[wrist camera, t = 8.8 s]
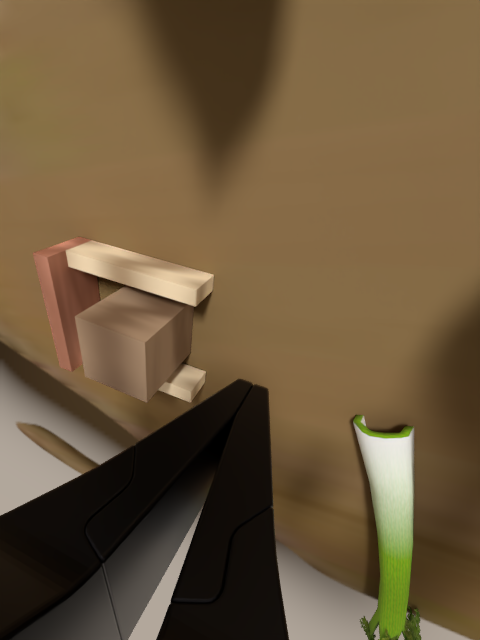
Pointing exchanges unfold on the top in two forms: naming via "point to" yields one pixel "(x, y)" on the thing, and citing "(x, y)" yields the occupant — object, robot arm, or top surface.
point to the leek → (391, 526)
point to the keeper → (134, 340)
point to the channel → (82, 292)
